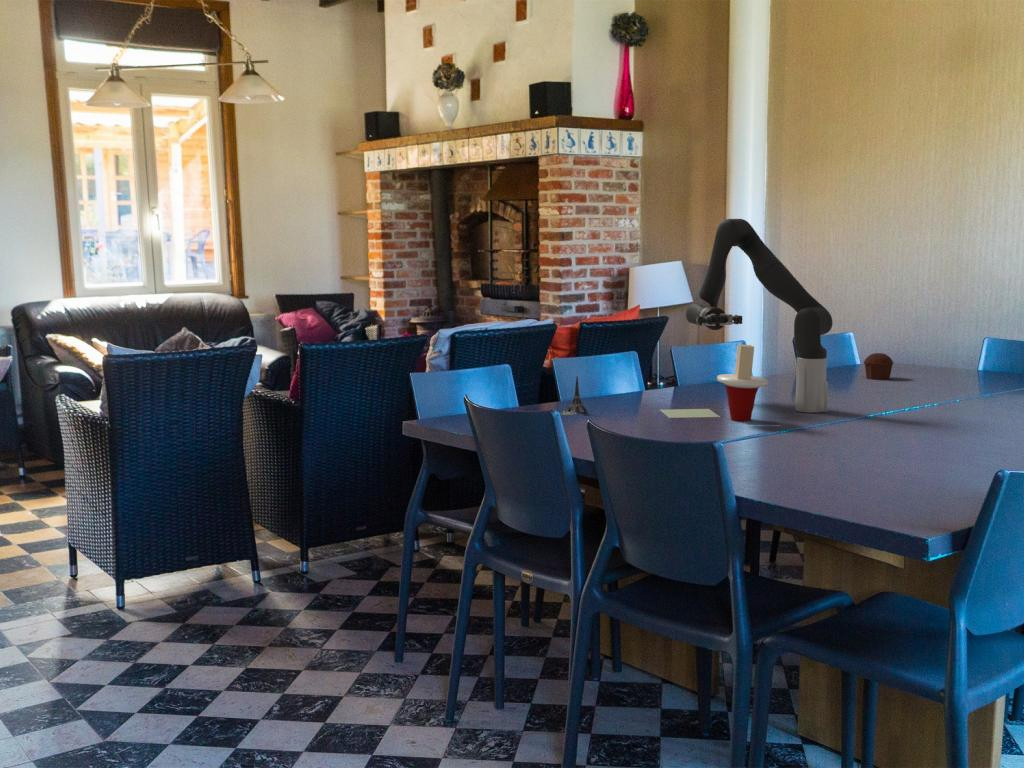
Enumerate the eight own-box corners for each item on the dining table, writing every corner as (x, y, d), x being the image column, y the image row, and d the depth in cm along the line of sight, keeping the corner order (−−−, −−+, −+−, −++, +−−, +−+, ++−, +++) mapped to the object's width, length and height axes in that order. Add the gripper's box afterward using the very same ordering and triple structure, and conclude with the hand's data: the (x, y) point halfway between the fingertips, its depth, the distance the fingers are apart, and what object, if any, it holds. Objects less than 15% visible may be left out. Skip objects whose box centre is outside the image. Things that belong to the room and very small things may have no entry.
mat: (708, 410, 334) (708, 408, 334) (720, 418, 318) (720, 416, 318) (659, 411, 334) (659, 409, 333) (669, 419, 318) (669, 417, 318)
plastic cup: (755, 425, 305) (755, 385, 304) (719, 423, 310) (719, 383, 308) (763, 419, 315) (764, 381, 313) (728, 417, 320) (729, 379, 318)
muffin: (888, 381, 403) (889, 355, 401) (859, 379, 409) (860, 354, 407) (895, 377, 412) (896, 352, 411) (867, 376, 418) (868, 351, 417)
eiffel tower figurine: (562, 409, 342) (562, 369, 340) (592, 410, 341) (592, 370, 339) (557, 416, 328) (557, 375, 326) (589, 417, 326) (589, 375, 324)
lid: (759, 379, 319) (763, 343, 317) (773, 388, 304) (777, 350, 302) (711, 376, 318) (715, 340, 316) (723, 385, 303) (727, 347, 301)
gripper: (691, 307, 343) (702, 309, 327) (733, 306, 344) (746, 309, 328) (691, 329, 344) (702, 333, 328) (733, 328, 345) (746, 332, 329)
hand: (724, 321), depth 328 cm, fingers open, 8 cm apart
